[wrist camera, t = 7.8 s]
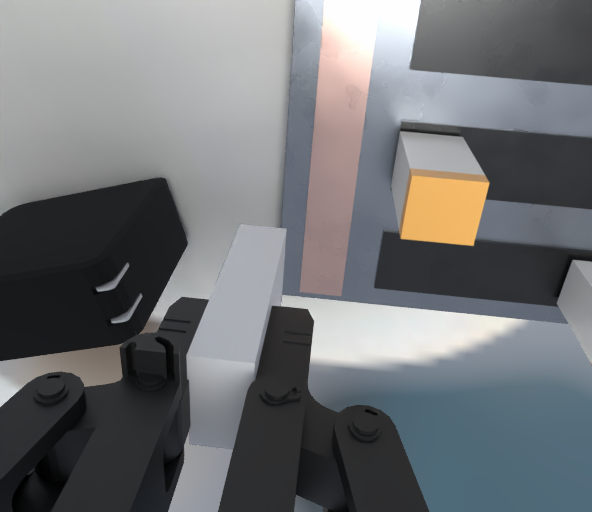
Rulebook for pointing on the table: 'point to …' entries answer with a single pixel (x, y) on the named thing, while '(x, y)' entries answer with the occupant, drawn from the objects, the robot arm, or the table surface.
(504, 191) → the panel
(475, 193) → the block
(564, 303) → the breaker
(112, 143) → the table surface
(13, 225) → the electronic device
